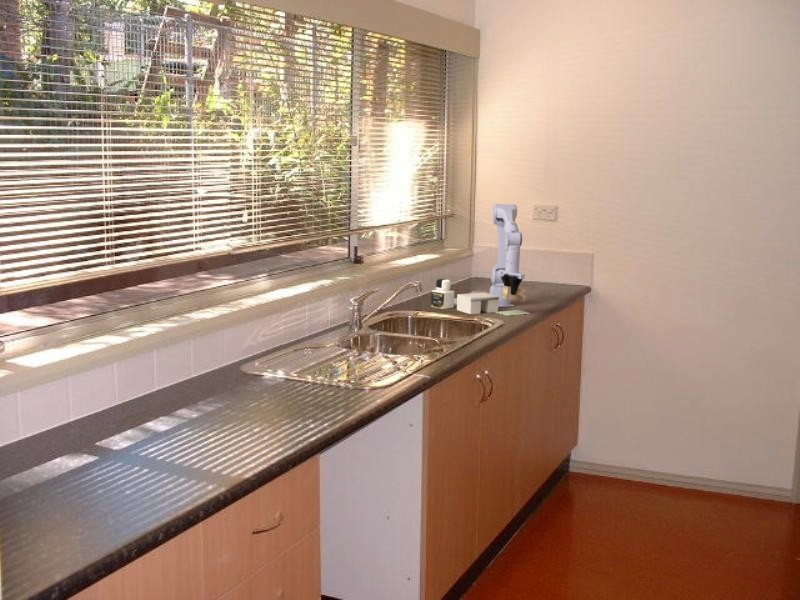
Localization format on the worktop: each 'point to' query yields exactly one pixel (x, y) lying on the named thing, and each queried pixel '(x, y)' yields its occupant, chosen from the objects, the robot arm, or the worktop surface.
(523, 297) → the wooden block
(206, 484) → the worktop surface
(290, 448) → the worktop surface
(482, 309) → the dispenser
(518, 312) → the mat
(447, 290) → the medicine bottle
